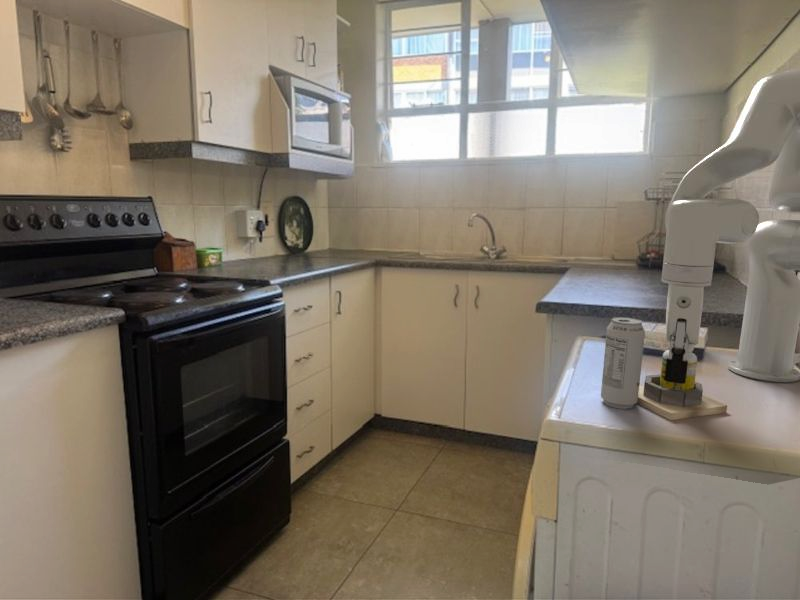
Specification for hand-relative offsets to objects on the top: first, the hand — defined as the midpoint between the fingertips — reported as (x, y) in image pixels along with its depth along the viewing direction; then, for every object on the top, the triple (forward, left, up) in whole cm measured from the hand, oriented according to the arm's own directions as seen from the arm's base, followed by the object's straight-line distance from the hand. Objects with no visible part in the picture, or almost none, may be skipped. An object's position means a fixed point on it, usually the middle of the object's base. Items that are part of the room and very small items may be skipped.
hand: (675, 375), depth 95 cm
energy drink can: (+10, -2, -5) cm, 11 cm away
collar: (0, 0, -5) cm, 5 cm away
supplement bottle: (0, 0, -3) cm, 3 cm away
